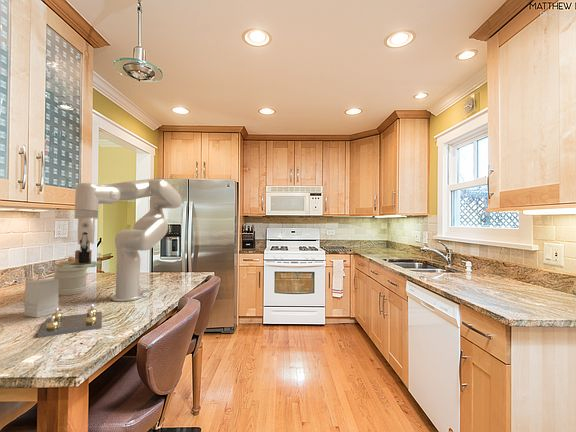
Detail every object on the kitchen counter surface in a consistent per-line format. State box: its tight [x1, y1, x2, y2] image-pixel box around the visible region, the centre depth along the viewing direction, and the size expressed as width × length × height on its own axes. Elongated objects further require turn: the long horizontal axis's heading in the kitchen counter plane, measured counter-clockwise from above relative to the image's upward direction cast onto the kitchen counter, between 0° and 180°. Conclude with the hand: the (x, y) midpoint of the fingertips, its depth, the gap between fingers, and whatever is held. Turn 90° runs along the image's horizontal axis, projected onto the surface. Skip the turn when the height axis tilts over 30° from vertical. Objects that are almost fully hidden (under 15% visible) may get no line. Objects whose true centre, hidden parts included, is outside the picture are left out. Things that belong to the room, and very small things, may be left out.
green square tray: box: [62, 249, 103, 269], centre depth 112 cm, size 12×12×6 cm
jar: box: [53, 256, 88, 296], centre depth 141 cm, size 13×13×18 cm
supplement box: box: [23, 277, 60, 318], centre depth 108 cm, size 7×7×13 cm
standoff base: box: [37, 303, 103, 338], centre depth 97 cm, size 16×16×5 cm
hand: (84, 261), depth 112 cm, fingers closed on green square tray, 5 cm apart
